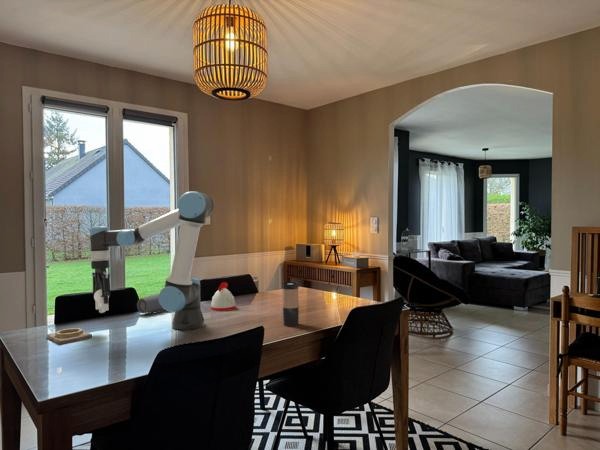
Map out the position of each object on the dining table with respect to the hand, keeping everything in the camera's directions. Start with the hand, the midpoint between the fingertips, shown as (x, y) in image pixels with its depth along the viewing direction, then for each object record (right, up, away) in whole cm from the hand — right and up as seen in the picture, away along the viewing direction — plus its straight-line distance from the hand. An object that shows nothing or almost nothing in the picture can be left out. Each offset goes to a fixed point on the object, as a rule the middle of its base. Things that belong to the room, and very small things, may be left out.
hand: (102, 309), depth 196 cm
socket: (-10, -11, -9) cm, 17 cm away
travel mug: (+87, -9, +8) cm, 88 cm away
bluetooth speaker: (+12, -10, +43) cm, 46 cm away
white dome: (+47, -9, +49) cm, 69 cm away
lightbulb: (0, -2, 0) cm, 2 cm away
